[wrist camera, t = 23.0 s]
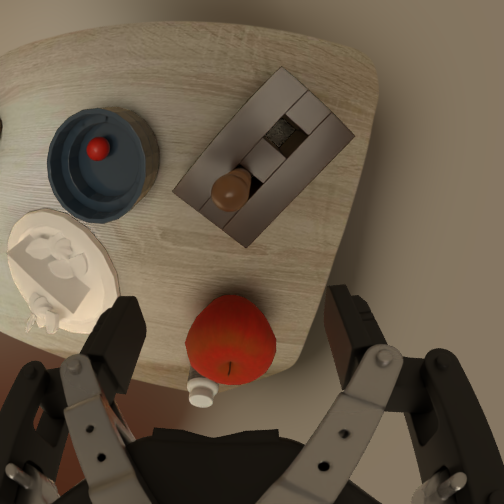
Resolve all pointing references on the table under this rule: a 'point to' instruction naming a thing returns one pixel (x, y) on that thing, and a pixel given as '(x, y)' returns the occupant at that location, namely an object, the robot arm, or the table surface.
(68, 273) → the dish
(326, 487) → the robot arm
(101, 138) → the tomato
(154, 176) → the bowl
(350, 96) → the table surface
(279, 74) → the stand
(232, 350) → the apple
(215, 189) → the stick
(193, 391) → the pill bottle
